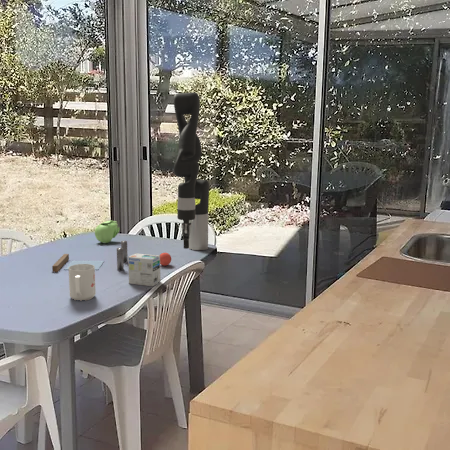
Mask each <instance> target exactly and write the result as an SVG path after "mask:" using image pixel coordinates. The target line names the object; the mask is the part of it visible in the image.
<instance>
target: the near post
mask: <svg viewBox="0 0 450 450" xmlns="http://www.w3.org/2000/svg"><path fill="white" fill-rule="evenodd" d="M116 268H117V271H124V270H125V269H124V268H125V267H124V262H123V248H121V247H117V248H116Z"/></svg>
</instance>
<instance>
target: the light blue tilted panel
mask: <svg viewBox="0 0 450 450" xmlns="http://www.w3.org/2000/svg"><path fill="white" fill-rule="evenodd" d="M104 263H105V260H71V261H70V262H69V264H68V265H66V267H65V268H64V269H63V270H64V271H69V267H70V266H72V265H77V264H91V265H94V266H95V271H99V270H100V269H101V267H102V265H103V264H104Z"/></svg>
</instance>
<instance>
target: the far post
mask: <svg viewBox="0 0 450 450" xmlns="http://www.w3.org/2000/svg"><path fill="white" fill-rule="evenodd" d="M120 244H121V245H120V248H123V263H128V257H129V256H128V240H121V241H120Z"/></svg>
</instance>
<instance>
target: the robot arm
mask: <svg viewBox="0 0 450 450" xmlns="http://www.w3.org/2000/svg"><path fill="white" fill-rule="evenodd" d="M173 107H174V113H175V117H176V124H177V128H178V135H179V137H178V152H177V157H176V160H175V162H174V165H173V174H174V175H175V177H177V178H183V179H184V182H181V183H179V184H178V187H177V190H178V191H177V209H176V210H177V214H176V215H177V219H178V220H179V221H180V220H181V221H183V222H182V223H181V234H182V239H183V249H185V250H186V249H187V250H188V249H189V250H191V249H192V250H191V251H205V250H207V251H208V250H209V206H210V205H209V204H210V203H209V202H210V200H209V199H210V183H209V180H207V179H197V178H198V175H199V172H200V165H199V162H200V160H201V158H202V152H203V151H202V145H201V139H200V138H199V136H198V135H197V129H198V125H199V117H200V109H201V100H200V96H199V94H198V93H197V92H193V91H192V92H178V93H175V94H174V96H173ZM185 115H190V118H189V120H188V122H187V118H186V117H185ZM196 200H199V203H197V204H196Z"/></svg>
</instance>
